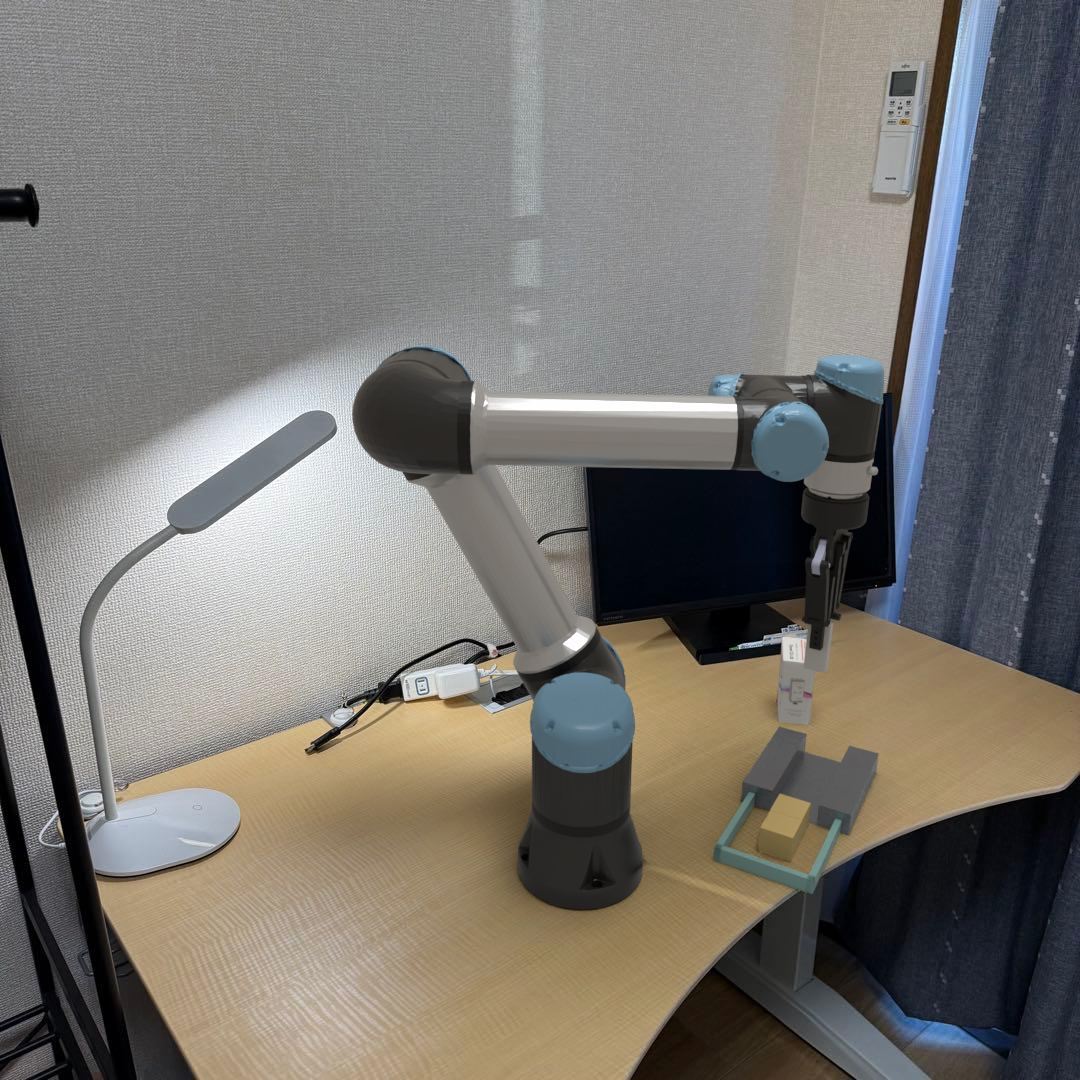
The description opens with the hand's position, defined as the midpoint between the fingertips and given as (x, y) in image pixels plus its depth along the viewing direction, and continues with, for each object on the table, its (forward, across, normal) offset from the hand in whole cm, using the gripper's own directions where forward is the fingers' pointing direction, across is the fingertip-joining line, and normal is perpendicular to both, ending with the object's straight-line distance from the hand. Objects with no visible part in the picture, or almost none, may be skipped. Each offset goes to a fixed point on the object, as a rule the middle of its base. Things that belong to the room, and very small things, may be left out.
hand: (815, 667), depth 121 cm
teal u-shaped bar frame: (+21, -12, 0) cm, 24 cm away
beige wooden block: (+20, -8, -1) cm, 21 cm away
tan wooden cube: (+20, -12, -1) cm, 23 cm away
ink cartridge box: (+21, +22, +8) cm, 31 cm away
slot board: (+20, +3, 0) cm, 21 cm away
